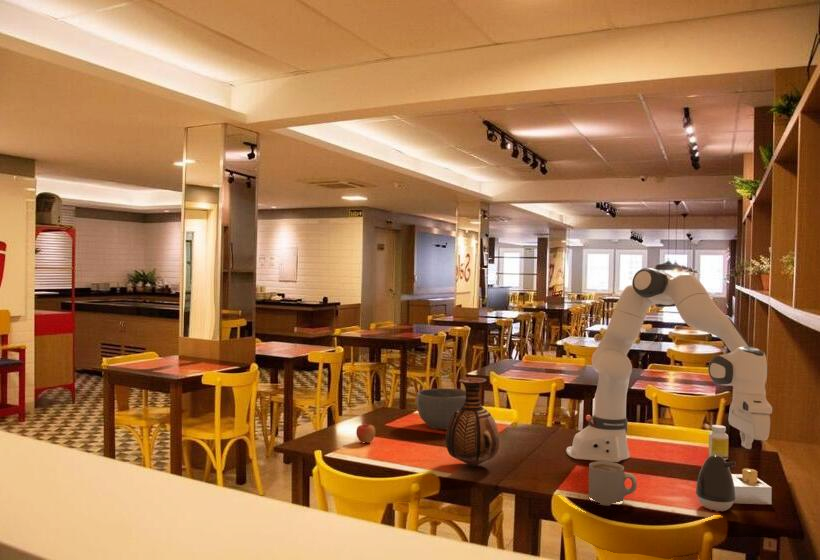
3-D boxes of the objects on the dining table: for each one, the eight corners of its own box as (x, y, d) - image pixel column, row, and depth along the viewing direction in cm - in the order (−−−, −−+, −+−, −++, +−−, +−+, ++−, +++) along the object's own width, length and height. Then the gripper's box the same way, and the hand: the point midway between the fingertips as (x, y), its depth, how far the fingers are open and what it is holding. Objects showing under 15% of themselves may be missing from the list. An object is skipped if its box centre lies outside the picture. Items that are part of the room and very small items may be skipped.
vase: (507, 475, 218) (508, 384, 217) (453, 477, 215) (454, 385, 214) (488, 456, 239) (489, 373, 238) (439, 458, 236) (440, 374, 235)
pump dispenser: (729, 518, 182) (730, 463, 182) (690, 508, 189) (691, 455, 189) (740, 508, 190) (741, 455, 189) (702, 499, 196) (703, 448, 196)
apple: (378, 443, 255) (379, 423, 255) (362, 446, 251) (362, 425, 251) (369, 439, 261) (369, 419, 261) (352, 442, 257) (353, 421, 257)
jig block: (722, 502, 194) (722, 485, 194) (706, 489, 206) (706, 473, 206) (771, 504, 193) (771, 487, 193) (752, 490, 205) (752, 474, 205)
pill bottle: (730, 461, 237) (730, 429, 237) (710, 460, 238) (711, 427, 238) (725, 456, 243) (726, 424, 243) (706, 455, 244) (707, 423, 244)
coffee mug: (586, 502, 193) (586, 468, 193) (591, 492, 202) (591, 459, 202) (634, 509, 187) (635, 474, 187) (637, 498, 196) (638, 465, 196)
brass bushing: (745, 499, 197) (746, 472, 197) (739, 494, 201) (740, 468, 201) (759, 499, 197) (759, 472, 197) (752, 494, 201) (753, 468, 201)
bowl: (412, 420, 294) (412, 387, 294) (466, 420, 297) (466, 386, 297) (419, 434, 270) (419, 398, 270) (477, 433, 272) (478, 397, 272)
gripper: (724, 394, 209) (722, 438, 209) (752, 408, 188) (749, 456, 189) (745, 395, 208) (742, 439, 209) (775, 409, 188) (772, 457, 188)
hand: (746, 447), depth 198 cm, fingers closed
